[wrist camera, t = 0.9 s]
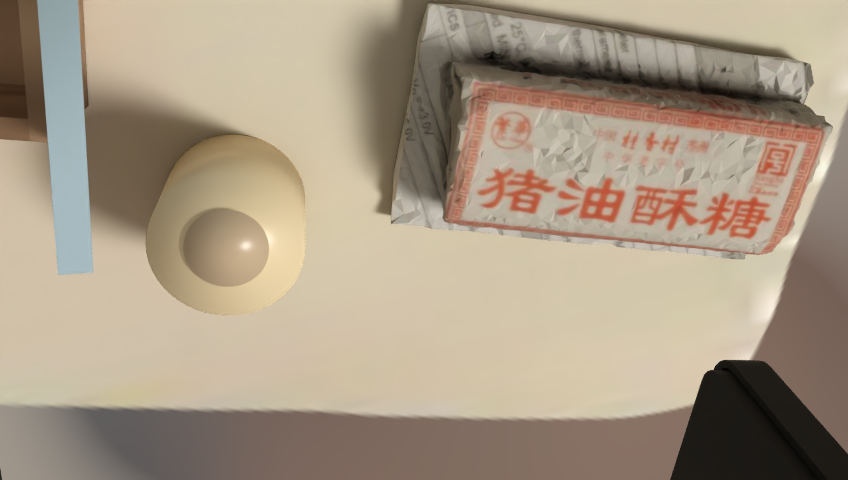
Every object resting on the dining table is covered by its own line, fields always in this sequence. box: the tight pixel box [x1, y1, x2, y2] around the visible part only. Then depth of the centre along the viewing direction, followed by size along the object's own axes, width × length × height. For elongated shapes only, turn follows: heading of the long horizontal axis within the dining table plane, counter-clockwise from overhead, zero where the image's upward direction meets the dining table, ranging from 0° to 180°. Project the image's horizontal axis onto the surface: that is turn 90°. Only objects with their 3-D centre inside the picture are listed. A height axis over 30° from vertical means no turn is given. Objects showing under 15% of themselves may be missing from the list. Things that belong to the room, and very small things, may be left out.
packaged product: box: [391, 3, 833, 259], centre depth 35 cm, size 18×5×10 cm
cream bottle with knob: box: [146, 134, 305, 315], centre depth 33 cm, size 6×6×5 cm
